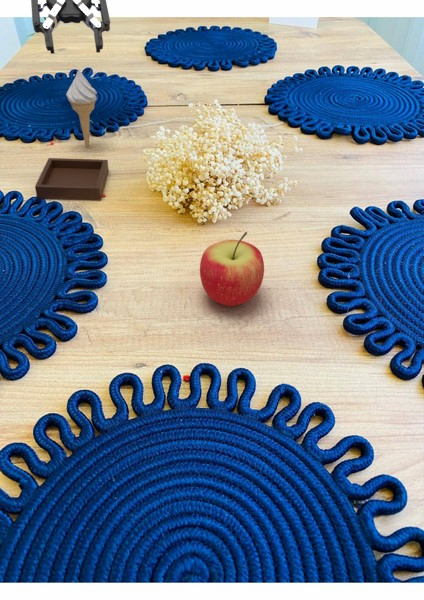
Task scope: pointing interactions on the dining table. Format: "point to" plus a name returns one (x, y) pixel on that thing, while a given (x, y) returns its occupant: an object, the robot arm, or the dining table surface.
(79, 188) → the tray
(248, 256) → the apple
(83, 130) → the ice cream cone
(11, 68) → the dining table surface
